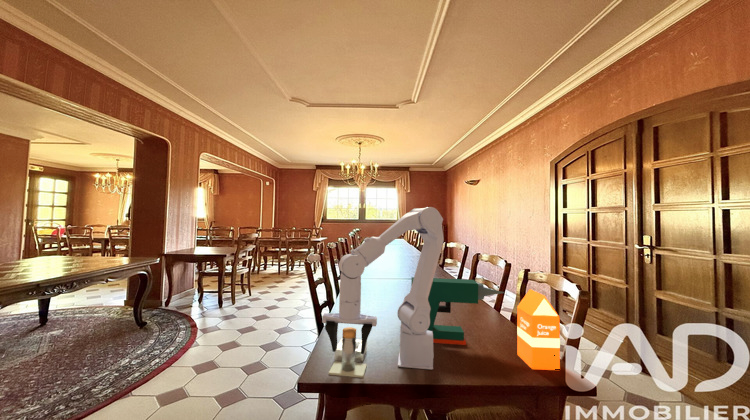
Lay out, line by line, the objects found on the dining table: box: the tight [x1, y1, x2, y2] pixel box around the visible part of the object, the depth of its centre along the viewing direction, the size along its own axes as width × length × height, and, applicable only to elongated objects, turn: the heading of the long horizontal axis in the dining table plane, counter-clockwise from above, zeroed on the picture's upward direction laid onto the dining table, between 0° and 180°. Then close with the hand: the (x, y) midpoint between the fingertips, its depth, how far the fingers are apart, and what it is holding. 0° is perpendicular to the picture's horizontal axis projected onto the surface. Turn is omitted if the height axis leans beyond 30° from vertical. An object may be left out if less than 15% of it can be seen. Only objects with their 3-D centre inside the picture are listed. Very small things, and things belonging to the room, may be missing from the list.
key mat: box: [328, 360, 368, 378], centre depth 76 cm, size 9×6×1 cm, turn 83°
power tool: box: [411, 276, 506, 346], centre depth 98 cm, size 32×7×20 cm, turn 84°
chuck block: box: [334, 338, 368, 364], centre depth 84 cm, size 8×8×3 cm
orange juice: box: [516, 288, 561, 371], centre depth 83 cm, size 8×9×20 cm
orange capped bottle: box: [341, 327, 357, 372], centre depth 76 cm, size 4×4×10 cm
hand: (348, 351), depth 76 cm, fingers open, 7 cm apart
